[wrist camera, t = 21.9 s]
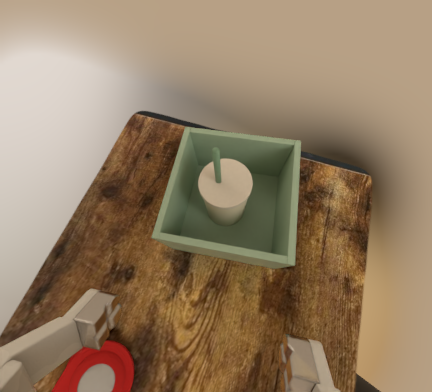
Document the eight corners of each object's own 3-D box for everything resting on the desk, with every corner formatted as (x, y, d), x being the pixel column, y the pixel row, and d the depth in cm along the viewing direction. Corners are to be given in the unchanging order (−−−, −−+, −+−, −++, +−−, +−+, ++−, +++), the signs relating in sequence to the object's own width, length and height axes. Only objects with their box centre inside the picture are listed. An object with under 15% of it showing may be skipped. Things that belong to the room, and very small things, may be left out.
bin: (282, 175, 35) (301, 140, 26) (274, 268, 30) (295, 265, 21) (195, 162, 37) (185, 126, 28) (172, 248, 31) (151, 237, 22)
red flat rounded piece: (150, 384, 24) (60, 473, 20) (150, 368, 28) (76, 439, 24) (97, 298, 26) (2, 365, 21) (104, 294, 30) (26, 349, 25)
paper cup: (248, 193, 33) (265, 125, 19) (242, 230, 31) (256, 188, 16) (210, 187, 34) (197, 117, 19) (202, 223, 32) (180, 176, 17)
